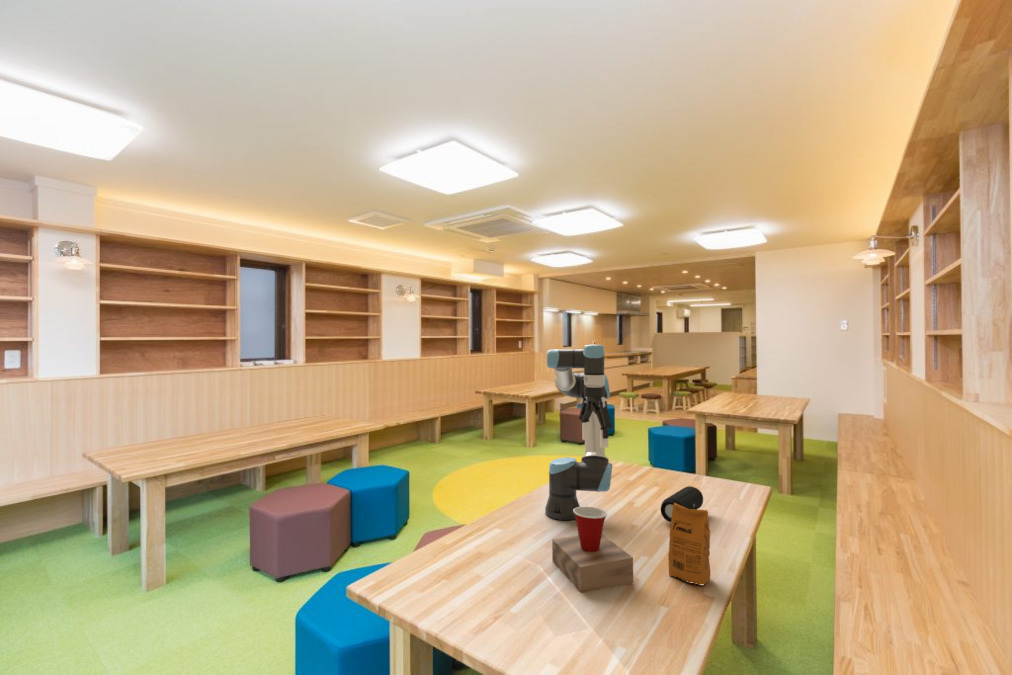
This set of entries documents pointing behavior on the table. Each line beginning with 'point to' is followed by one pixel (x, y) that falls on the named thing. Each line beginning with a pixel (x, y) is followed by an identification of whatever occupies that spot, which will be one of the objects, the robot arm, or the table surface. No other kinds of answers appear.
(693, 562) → the coffee package
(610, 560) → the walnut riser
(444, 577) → the table surface
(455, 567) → the table surface
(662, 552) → the table surface
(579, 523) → the plastic cup
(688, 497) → the portable speaker
